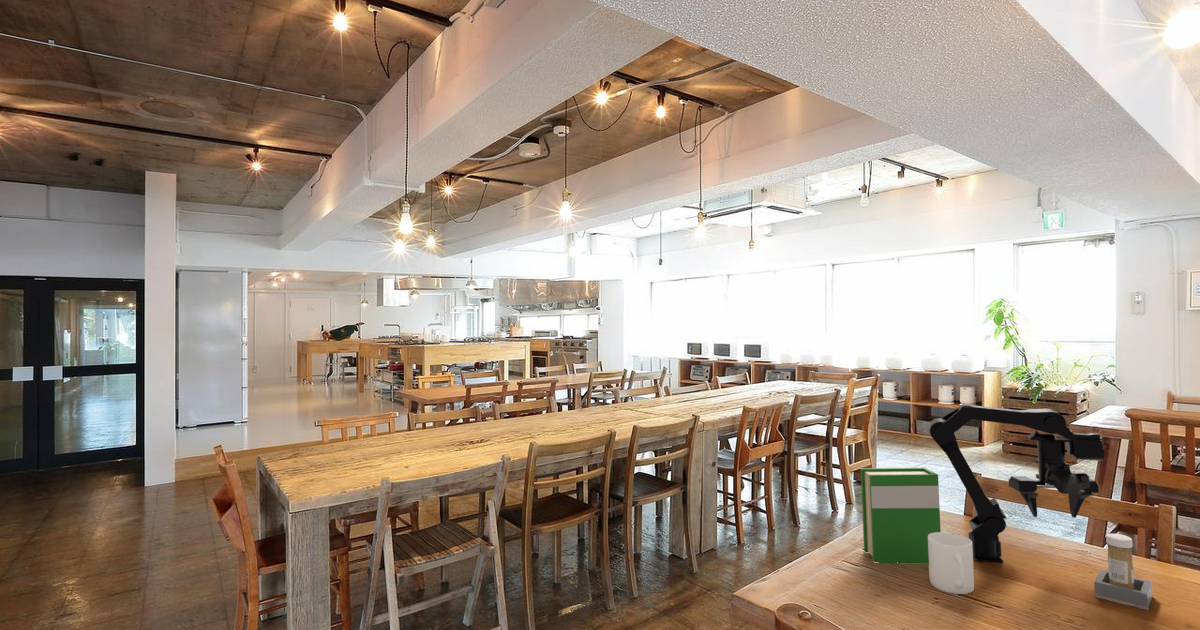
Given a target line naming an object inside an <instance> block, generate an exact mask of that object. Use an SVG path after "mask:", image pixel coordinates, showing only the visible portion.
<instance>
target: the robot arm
mask: <svg viewBox="0 0 1200 630" xmlns="http://www.w3.org/2000/svg"><path fill="white" fill-rule="evenodd" d="M971 420H972V421H980V422H989V423H998V424H1006V425H1014V426H1015V425H1016V426H1021V427H1024V428H1025V427H1026V428H1030V429H1032V430H1033V432H1031V433H1030V434H1028V435H1027V438H1028V439H1029V440H1030V441H1034V442H1035V441H1037V443H1036V445H1037V458H1034V461H1035V463H1036V464H1037V465H1038V473H1036V474H1035V480H1034V479H1033V478H1032V479H1031V478H1030V477H1028V476H1025V475H1023V476H1022V475H1021V476H1020V475H1019V476H1017V475H1012V476H1010V478H1009V479H1008V486H1009V487H1010V488H1011V489H1014V490H1015V491H1016V492H1019V493H1020V496H1021V497H1022V498H1023V500H1024V502H1025V503H1026V505H1027V507H1028V509H1029V511H1030V513H1031V515H1032V517H1034V518H1037V517H1038V505H1037V498H1038V495H1039V493H1038V492H1036V491H1037V489H1039V488H1040V489H1041V488H1042V489H1043V488H1044V489H1056V490H1057V491H1058V493H1060V494H1063V495H1067V496H1068V504H1069V512H1070V515H1071V517H1072V518H1073V519H1076V518H1077V516H1078V514H1079V512H1080V509H1081V506H1082V505H1083V503H1084V502H1085V500H1086V499H1088V498H1089V497H1093V496H1094V495H1095V494H1099V493H1100V485H1099V483H1098V482H1097V481H1096V480H1094V479H1091V478H1090V475H1088V474H1087V473H1086V472H1081V473H1080V472H1079V473H1074V472H1073V473H1072V471H1071V467H1070V463H1066V460H1067V459H1066V453H1067V455H1068V456H1072V459H1074V460H1083V461H1097V462H1100V461H1102V462H1103V461H1104V459H1105V449H1104V445H1103V443H1102V440H1101V435H1100V434H1098V433H1095V432H1090V433H1082V432H1081V433H1079V432H1075V433H1074V431H1072V430H1071V429H1070V428H1068V426H1067V421H1066V419H1065V417H1064V416H1063V415H1062V414H1061V413H1059V412H1058V411H1056V410H1054V409H1051V408H1030V409H1011V408H1001V407H992V406H982V405H975V404H974V405H973V404H968V403H962V404H960V405H959V406H958V407H957V408H955V409H954V410H952V411H950V412H948V413H946V414H945V415H944V416H942V417H941V418H939V417H938V418H935V419H932V420H931V421H930V422H929V424H928V431H929V434H930V437H931V438H932V439H933V441H934V442H935V443H936V444H937V445H938V447H939V448H940V449H941V450H942V451H943V452H944V453H945V455H946V456H947V458H948V459H949V462H950V463H951V465H952V467H953V468H954V470H955V472H956V473H957V476H958V477H959V478H960V481H961V483H962V484H963V487H965V490H966V491H967V494H968V495H969V497H970V498H971V501H972V504H973V507H974V509H975V512H976V515H975V516H973V517H972V518H971V519H970V520H969V521H968V523H969V526H970V528H971V531H969V532H968V538H969V539H970V540H971V541H972V547H973V559H974V560H975V561H977V562H999V563H1000V562H1001V563H1002V562H1004V559H1003V558H1001V557H1002V543H1001V541H1000V538H999V537H1000V536H999V535H1000V534H1001V533H1003V532H1004V531H1005V529H1006V527H1007V523H1006V520H1007V516H1006V514H1005V512H1004V510H1003V509H1002V508H1001V507H1000V504H999V502H998V501H997V498H996V497H993V498H991V499H990V498H989V497H988V496H987V495H986V493H985V491H984V490H983V488H982V486H981V485H980V483H979V480H978V479H977V478H976V476H975V474H974V472H973V470H972V469H971V467H970V465H969V463H968V461H967V460H966V458H965V456H964V455H963V453H962V451H961V450H960V449H961V448H960V447H959V446H960V445H959V443H958V440H957V438H956V435H955V433H956V432H957V431H959V430H960V429H961V428H963V426H965V425H966V424H967V423H969V422H970V421H971ZM1039 431H1040V432H1042V433H1039ZM1054 434H1055V435H1056V434H1058V435H1059V436H1061V437H1056V436H1055V435H1054ZM1037 479H1038V480H1037Z"/></svg>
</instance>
